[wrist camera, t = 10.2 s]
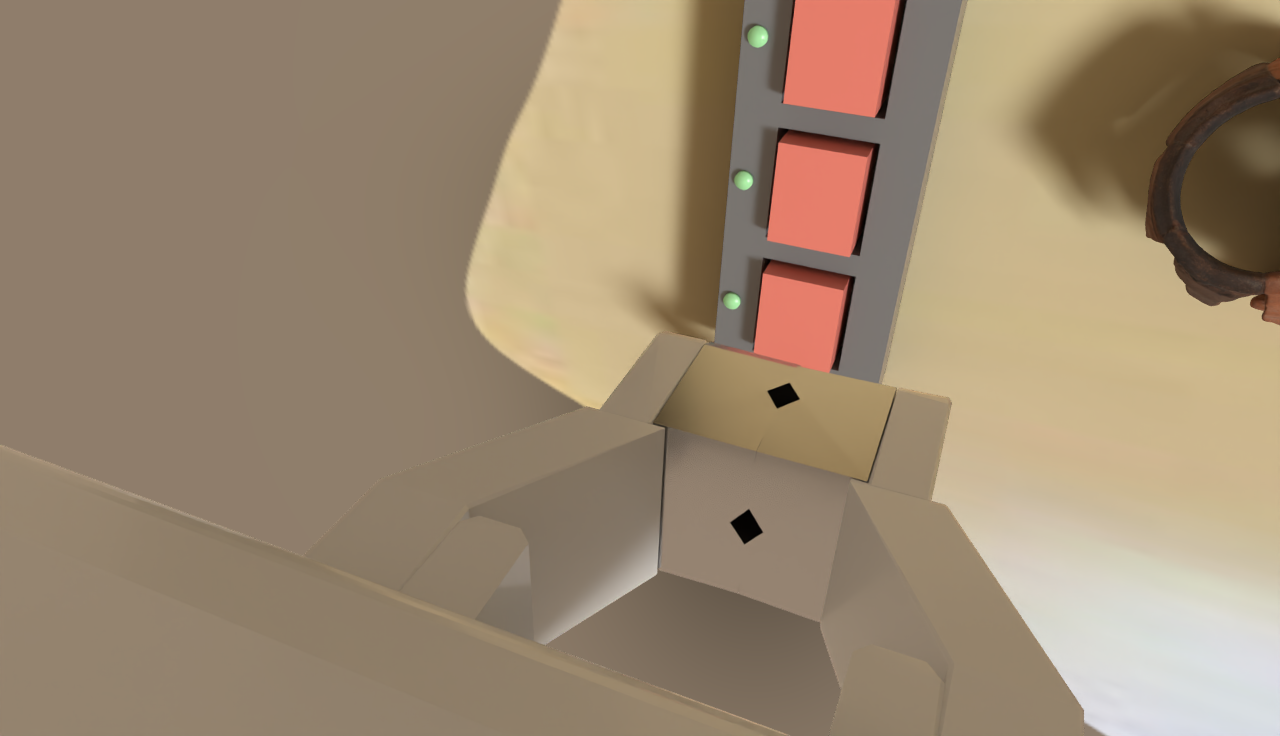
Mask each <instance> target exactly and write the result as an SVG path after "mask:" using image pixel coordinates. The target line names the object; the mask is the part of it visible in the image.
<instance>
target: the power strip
mask: <svg viewBox="0 0 1280 736" xmlns="http://www.w3.org/2000/svg"><path fill="white" fill-rule="evenodd" d="M966 4H967V0H905V6H904V11H903V17H902V22H901V28H900V33H899V38H898V44H897V49H896V55H895V60H894V66H893V71H892V76H891V82H890V87H889V93H888V96H887V98H886V99H885V101H884V103H883V104H882V106H881V108H880V109H879V111H878V113H877V114H876V116H875V118H874V117H868V116H861V115H855V114H848V113H842V112H835V111H829V110H822V109H816V108H809V107H803V106H796V105H790V104H783V101H784V93H785V84H786V76H787V67H788V59H789V51H790V42H791V34H792V25H793V17H794V8H795V0H745V2H744V14H743V25H742V36H741V48H740V59H739V70H738V82H737V93H736V104H735V116H734V127H733V138H732V150H731V161H730V172H729V184H728V195H727V206H726V218H725V229H724V240H723V252H722V263H721V274H720V286H719V297H718V308H717V320H716V331H715V342H714V343H718V344H722V345H725V346H729V347H733V348H737V349H741V350H745V351H748V352H752V353H754V346H755V337H756V329H757V320H758V312H759V304H760V295H761V287H762V278H763V273H764V271H765V270H766V268H767V266H768V265H769V263H770V262H771V260H772V259H773V260H778V261H783V262H788V263H792V264H797V265H802V266H807V267H811V268H816V269H821V270H826V271H831V272H835V273H840V274H845V275H850V276H855V277H854V283H853V288H852V293H851V299H850V304H849V310H848V315H847V320H846V326H845V331H844V337H843V342H842V344H841V347H840V349H839V351H838V354H837V356H836V358H835V361H834V363H833V365H832V368H831V370H830V373H832V374H836V375H841V376H846V377H850V378H855V379H859V380H864V381H868V382H873V383H878V384H881V383H882V380H883V377H884V374H885V370H886V366H887V361H888V357H889V352H890V348H891V343H892V339H893V334H894V330H895V325H896V320H897V316H898V311H899V307H900V302H901V298H902V293H903V289H904V284H905V280H906V275H907V271H908V266H909V262H910V257H911V253H912V248H913V244H914V239H915V235H916V230H917V226H918V221H919V217H920V212H921V207H922V203H923V198H924V194H925V189H926V185H927V180H928V176H929V171H930V167H931V162H932V158H933V153H934V149H935V144H936V140H937V135H938V131H939V126H940V122H941V117H942V113H943V108H944V104H945V99H946V94H947V90H948V85H949V81H950V76H951V72H952V67H953V63H954V58H955V54H956V49H957V45H958V40H959V36H960V31H961V27H962V22H963V18H964V13H965V9H966ZM789 129H792V130H798V131H804V132H810V133H816V134H823V135H829V136H835V137H841V138H847V139H853V140H859V141H866V142H872V143H878V144H879V147H878V153H877V158H876V163H875V169H874V174H873V180H872V185H871V191H870V196H869V201H868V207H867V212H866V218H865V223H864V228H863V231H862V233H861V235H860V237H859V239H858V241H857V243H856V245H855V247H854V249H853V251H852V253H851V256H850V257H846V256H841V255H836V254H831V253H826V252H821V251H816V250H811V249H806V248H801V247H796V246H791V245H786V244H782V243H777V242H772V241H767V237H768V228H769V220H770V211H771V203H772V195H773V186H774V178H775V169H776V161H777V152H778V144H779V141H780V140H781V139H782V138H783V137H784V135H785V134H786V133H787V132H788V130H789Z"/></svg>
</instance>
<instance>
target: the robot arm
mask: <svg viewBox="0 0 1280 736" xmlns="http://www.w3.org/2000/svg"><path fill="white" fill-rule="evenodd" d="M896 393H897V394H896ZM951 405H952V403H951V400H950V398H948V397H943V396H938V395H933V394H928V393H923V392H918V391H913V390H908V389H903V388H899V389H898V390H897V388H896V387H891V386H887V385H882V384H878V383H873V382H868V381H864V380H859V379H855V378H850V377H846V376H841V375H836V374H832V373H827V372H823V371H818V370H813V369H809V368H804V367H801V365H798V364H794V363H790V362H787V361H783V360H779V359H775V358H771V357H767V356H764V355H760V354H756V353H752V352H748V351H745V350H741V349H737V348H733V347H729V346H725V345H722V344H718V343H714V342H707V341H706V340H703V339H699V338H695V337H690V336H686V335H682V334H677V333H673V332H669V331H665V332H661V333H659V334H657V335H656V336H655V338H654V339H653V340H652V342H651V343H650V344H649V346H648V347H647V348H646V350H645V351H644V352H643V353H642V355H641V356H640V357H639V359H638V360H637V361H636V363H635V364H634V365H633V367H632V368H631V369H630V370H629V372H628V373H627V374H626V376H625V377H624V378H623V380H622V381H621V382H620V384H619V385H618V386H617V388H616V389H615V390H614V391H613V393H612V394H611V395H610V397H609V398H608V399H607V401H606V402H605V403H604V405H603V406H602V407H601V408H600V410H599V409H595V408H591V407H584V408H581V409H578V410H575V411H572V412H569V413H567V414H564V415H561V416H558V417H555V418H552V419H549V420H547V421H544V422H541V423H538V424H535V425H532V426H529V427H527V428H524V429H521V430H518V431H515V432H512V433H509V434H507V435H504V436H501V437H498V438H495V439H492V440H489V441H487V442H484V443H481V444H478V445H475V446H472V447H469V448H466V449H464V450H461V451H458V452H455V453H452V454H449V455H446V456H444V457H441V458H438V459H435V460H432V461H429V462H426V463H424V464H421V465H418V466H415V467H412V468H409V469H406V470H404V471H401V472H398V473H395V474H392V475H389V476H386V477H383V478H381V479H379V480H378V481H377V482H376V483H375V484H374V485H373V486H372V487H371V488H370V489H369V490H368V491H367V492H366V493H365V494H364V495H363V496H362V497H361V498H360V499H359V500H358V501H357V502H356V503H355V504H354V505H353V506H352V507H351V508H350V509H349V510H348V511H347V512H346V513H345V514H344V515H343V516H342V517H341V518H340V519H339V520H338V521H337V522H336V523H335V524H334V525H333V526H332V527H331V528H330V529H329V530H328V531H327V532H326V533H325V534H324V535H323V536H322V537H321V538H320V539H319V540H318V541H317V542H316V543H315V544H314V545H313V546H312V547H311V548H310V550H308V551H307V552H306V554H304V555H303V556H301V555H298V554H295V553H293V552H290V551H288V550H285V549H282V548H279V547H277V546H274V545H271V544H269V543H266V542H263V541H260V540H258V539H255V538H252V537H250V536H247V535H244V534H242V533H239V532H236V531H233V530H231V529H228V528H225V527H222V526H220V525H217V524H214V523H212V522H209V521H206V520H204V519H201V518H198V517H195V516H193V515H190V514H187V513H185V512H182V511H179V510H176V509H174V508H171V507H168V506H165V505H163V504H160V503H158V502H154V501H152V500H149V499H147V498H144V497H141V496H139V495H136V494H133V493H130V492H127V491H125V490H122V489H119V488H117V487H114V486H111V485H109V484H106V483H103V482H100V481H98V480H95V479H92V478H90V477H87V476H84V475H81V474H79V473H76V472H73V471H71V470H68V469H65V468H62V467H60V466H57V465H54V464H52V463H49V462H46V461H44V460H41V459H38V458H35V457H33V456H30V455H27V454H25V453H22V452H19V451H16V450H14V449H11V448H8V447H6V446H3V445H0V736H790V735H787V734H785V733H782V732H779V731H776V730H773V729H771V728H768V727H766V726H763V725H760V724H758V723H755V722H752V721H749V720H747V719H744V718H741V717H738V716H736V715H733V714H730V713H727V712H725V711H722V710H719V709H717V708H714V707H711V706H709V705H706V704H703V703H701V702H698V701H695V700H692V699H690V698H687V697H684V696H681V695H679V694H676V693H673V692H671V691H668V690H665V689H662V688H660V687H657V686H654V685H652V684H649V683H646V682H643V681H641V680H638V679H635V678H633V677H630V676H627V675H624V674H621V673H619V672H616V671H613V670H611V669H608V668H605V667H602V666H600V665H597V664H595V663H592V662H589V661H586V660H583V659H581V658H578V657H576V656H572V655H570V654H567V653H565V652H562V651H559V650H556V649H554V648H551V647H548V646H545V644H547V643H548V642H550V641H552V640H553V639H555V638H556V637H558V636H559V635H561V634H563V633H564V632H566V631H567V630H569V629H570V628H572V627H574V626H575V625H577V624H579V623H580V622H582V621H583V620H585V619H587V618H588V617H590V616H591V615H593V614H595V613H596V612H597V611H599V610H601V609H603V608H604V607H606V606H607V605H609V604H610V603H612V602H614V601H615V600H617V599H618V598H620V597H621V596H623V595H624V594H626V593H628V592H630V591H631V590H633V589H634V588H636V587H637V586H639V585H641V584H642V583H644V582H645V581H647V580H649V579H650V578H652V577H653V576H655V575H656V574H657V570H661V571H664V572H667V573H671V574H674V575H678V576H681V577H684V578H687V579H691V580H694V581H698V582H701V583H704V584H708V585H711V586H714V587H718V588H721V589H725V590H728V591H731V592H735V593H738V592H739V594H741V595H744V596H746V597H749V598H752V599H755V600H758V601H761V602H763V603H766V604H769V605H772V606H774V607H778V608H780V609H783V610H786V611H789V612H792V613H794V614H797V615H800V616H803V617H806V618H808V619H811V620H814V621H817V622H820V629H821V632H822V635H823V638H824V641H825V644H826V647H827V650H828V653H829V656H830V659H831V662H832V665H833V668H834V671H835V674H836V677H837V680H838V683H839V686H840V689H841V694H840V698H839V701H838V705H837V708H836V712H835V715H834V719H833V722H832V726H831V729H830V732H829V736H1084V710H1083V708H1082V707H1081V705H1080V704H1079V702H1078V701H1077V699H1076V698H1075V696H1074V695H1073V693H1072V692H1071V690H1070V689H1069V687H1068V686H1067V684H1066V683H1065V681H1064V680H1063V678H1062V677H1061V675H1060V674H1059V672H1058V671H1057V669H1056V668H1055V666H1054V665H1053V663H1052V662H1051V660H1050V659H1049V657H1048V656H1047V654H1046V653H1045V651H1044V650H1043V648H1042V647H1041V645H1040V644H1039V643H1038V641H1037V640H1036V638H1035V637H1034V635H1033V634H1032V632H1031V631H1030V629H1029V628H1028V626H1027V625H1026V623H1025V622H1024V620H1023V619H1022V617H1021V616H1020V614H1019V613H1018V611H1017V610H1016V608H1015V607H1014V605H1013V604H1012V602H1011V601H1010V599H1009V598H1008V596H1007V595H1006V593H1005V592H1004V590H1003V589H1002V587H1001V586H1000V584H999V583H998V581H997V580H996V578H995V577H994V575H993V574H992V572H991V571H990V569H989V568H988V566H987V565H986V563H985V562H984V560H983V559H982V557H981V556H980V554H979V553H978V551H977V550H976V548H975V547H974V545H973V544H972V542H971V541H970V539H969V538H968V536H967V535H966V533H965V532H964V530H963V529H962V527H961V526H960V524H959V523H958V521H957V520H956V518H955V517H954V515H953V514H952V512H951V511H950V509H949V508H948V506H946V505H944V504H940V503H937V502H933V501H931V499H932V495H933V490H934V485H935V481H936V476H937V471H938V466H939V462H940V457H941V452H942V448H943V443H944V438H945V433H946V429H947V424H948V419H949V414H950V410H951Z"/></svg>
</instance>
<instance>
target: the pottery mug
mask: <svg viewBox="0 0 1280 736" xmlns="http://www.w3.org/2000/svg"><path fill="white" fill-rule="evenodd" d="M1279 97H1280V58H1278V59H1276V60H1275V61H1273V62H1271V63H1260V64H1256V65H1254V66H1251V67H1249V68H1248V69H1246V70H1245V71H1243V72H1242V73H1240V74H1238V75H1236V76H1235V77H1233V78H1232V79H1230V80H1228V81H1227V82H1226V83H1224V84H1223V85H1222V86H1220V87H1219V88H1217V89H1216V90H1214V91H1213V92H1211V93H1210V94H1209V95H1208V96H1207V97H1205V98H1204V99H1203V100H1202V101H1200V102H1199V103H1198V104H1197V105H1196V106H1195V107H1194V108H1193V109H1192V110H1191V111H1190V112H1189V113H1187V115H1186V116H1185V117H1184V118H1183V119H1182V120H1181V122H1180V123H1179V124H1178V125H1177V126H1176V128H1175V129H1174V130H1173V131H1172V133H1171V134H1170V135H1169V137H1168V139H1167V141H1166V145H1167V146H1168V148H1167V149H1166V150H1165V152H1164V153H1163V154H1162V155H1161V156H1160V157H1159V158H1158V159H1157V161H1156V162H1155V164H1154V168H1153V172H1152V175H1151V179H1150V187H1149V193H1148V194H1149V196H1148V204H1147V212H1146V221H1145V226H1146V236H1147V237H1148V238H1151V239H1152V240H1154V241H1157V242H1160V243H1164V244H1165V245H1166V247H1167V248H1168V249H1169V251H1170V252H1171V253H1172V254H1173V256H1174V257H1175V258H1174V265H1175V271H1176V273H1177V275H1178V276H1179V278H1180V279H1181V280H1182V281H1183V282H1184V283H1185V284H1186V290H1187V292H1188V293H1189V295H1191V296H1193V297H1194V298H1196V299H1198V300H1199V301H1201V302H1203V303H1204V304H1207V305H1209V306H1216V305H1219V304H1220V303H1221V302H1228V301H1233V300H1236V299H1238V298H1241V297H1246V296H1250V295H1258V296H1256V297H1254V298H1252V300H1251V302H1250V306H1251V307H1253V308H1255V309H1259V310H1262V311H1264V312H1263V314H1262V319H1263V320H1264V321H1266V322H1273V323H1276V324H1278V325H1280V271H1278V272H1267V273H1260V272H1252V271H1246V270H1241V269H1238V268H1235V267H1232V266H1229V265H1227V264H1225V263H1222V262H1220V261H1219V260H1217V259H1215V258H1214V257H1212V256H1211V255H1210V254H1208V253H1207V252H1206V251H1204V250H1203V249H1202V248H1201V247H1200V246H1199V245H1198V244H1197V243H1196V242H1195V241H1194V239H1193V238H1192V237H1191V235H1190V234H1189V233H1188V231H1187V228H1186V226H1185V223H1184V220H1183V216H1182V212H1181V204H1180V195H1181V187H1182V182H1183V178H1184V174H1185V172H1186V169H1187V167H1188V165H1189V162H1190V161H1191V159H1192V157H1193V155H1194V154H1195V152H1196V151H1197V150H1198V148H1199V147H1200V146H1201V145H1202V144H1203V142H1204V141H1205V140H1206V139H1207V138H1208V137H1209V136H1210V135H1211V134H1212V133H1213V132H1214V131H1215V130H1216V129H1217V128H1218V127H1219V126H1221V125H1222V124H1223V123H1225V122H1226V121H1228V120H1229V119H1231V118H1232V117H1234V116H1235V115H1237V114H1240V113H1242V112H1244V111H1245V110H1247V109H1249V108H1251V107H1254V106H1256V105H1258V104H1261V103H1265V102H1268V101H1271V100H1274V99H1277V98H1279Z"/></svg>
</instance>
